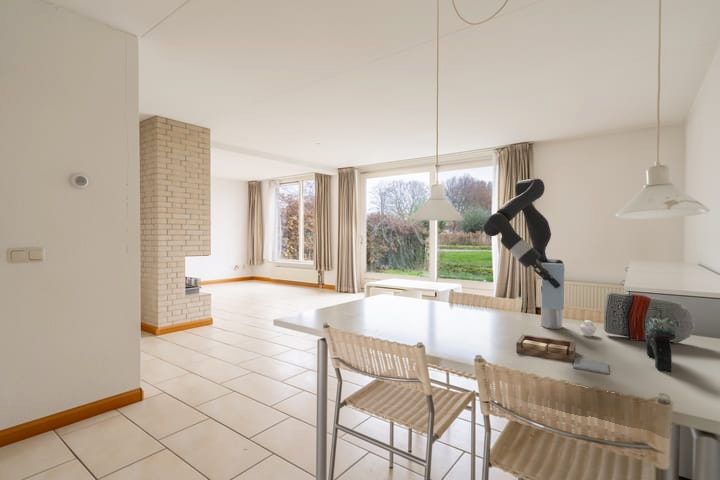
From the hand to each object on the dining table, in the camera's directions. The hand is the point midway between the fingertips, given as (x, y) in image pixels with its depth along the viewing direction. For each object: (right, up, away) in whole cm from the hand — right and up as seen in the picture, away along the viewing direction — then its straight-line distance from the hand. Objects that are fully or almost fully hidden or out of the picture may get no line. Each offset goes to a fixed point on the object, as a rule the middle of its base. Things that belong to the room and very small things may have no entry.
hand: (559, 286), depth 135 cm
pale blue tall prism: (-2, -8, +1) cm, 9 cm away
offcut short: (-2, -26, -2) cm, 26 cm away
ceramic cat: (+29, -26, -10) cm, 40 cm away
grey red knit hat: (+47, -26, +17) cm, 56 cm away
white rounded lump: (+27, -26, +24) cm, 44 cm away
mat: (+4, -26, -12) cm, 29 cm away
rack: (-4, -26, +3) cm, 26 cm away
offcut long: (-8, -26, +2) cm, 28 cm away
